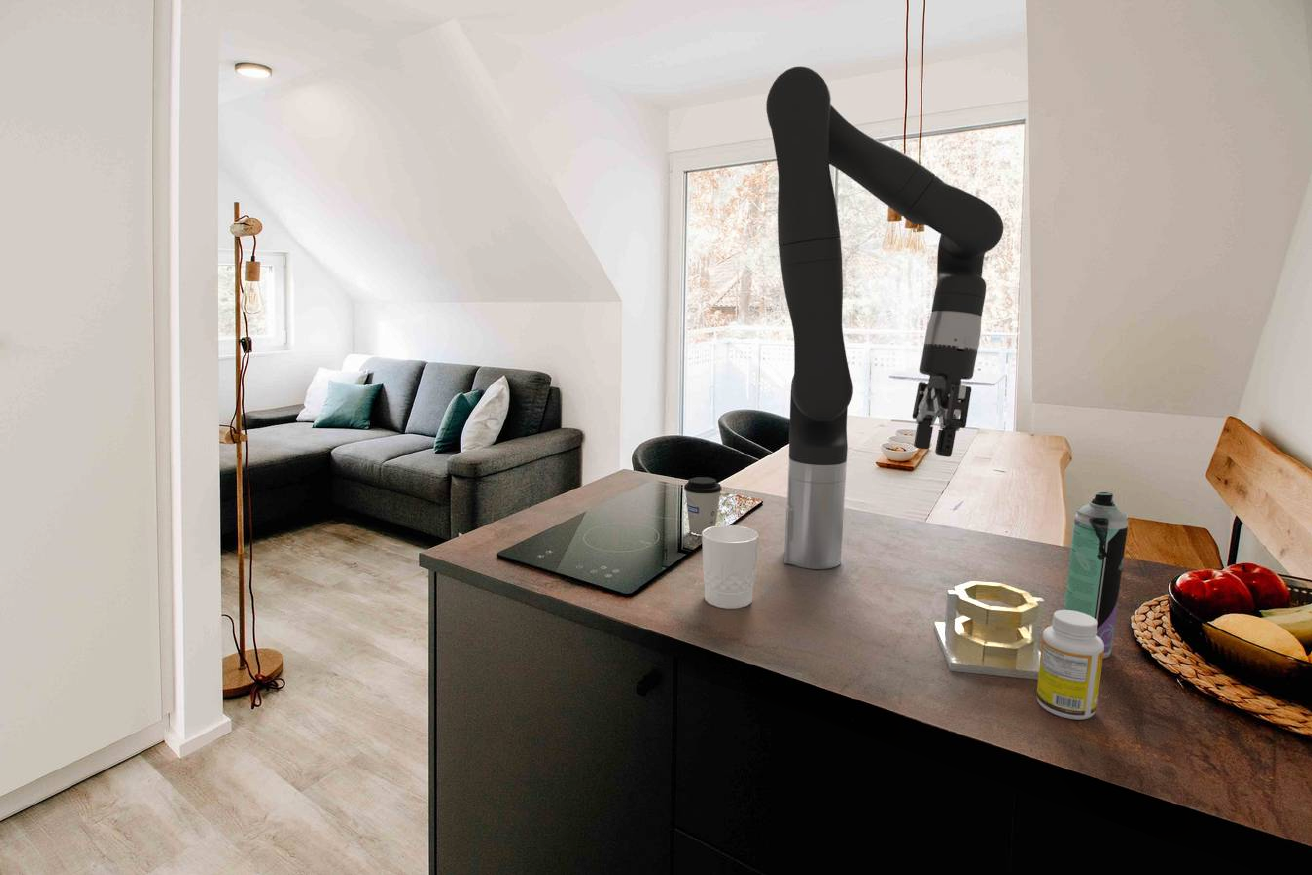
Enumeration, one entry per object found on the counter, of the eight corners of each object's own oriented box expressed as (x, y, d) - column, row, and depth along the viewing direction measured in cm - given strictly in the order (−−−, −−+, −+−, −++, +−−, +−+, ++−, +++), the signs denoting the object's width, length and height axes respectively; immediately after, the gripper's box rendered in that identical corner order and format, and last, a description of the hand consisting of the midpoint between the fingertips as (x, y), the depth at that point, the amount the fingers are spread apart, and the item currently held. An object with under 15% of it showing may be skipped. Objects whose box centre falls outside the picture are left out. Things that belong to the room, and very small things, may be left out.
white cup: (760, 592, 104) (762, 528, 103) (749, 614, 97) (751, 545, 95) (708, 585, 107) (710, 522, 105) (694, 606, 100) (695, 538, 98)
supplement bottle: (1068, 690, 78) (1079, 604, 77) (1108, 719, 73) (1121, 627, 71) (1023, 695, 78) (1033, 608, 76) (1060, 724, 72) (1072, 631, 70)
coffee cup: (715, 525, 136) (716, 475, 134) (725, 537, 129) (726, 484, 127) (679, 527, 134) (680, 476, 132) (687, 539, 128) (688, 485, 126)
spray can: (1118, 661, 85) (1140, 500, 81) (1068, 656, 86) (1088, 497, 82) (1099, 640, 90) (1120, 488, 87) (1053, 635, 91) (1071, 485, 88)
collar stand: (950, 670, 83) (955, 610, 81) (934, 628, 93) (938, 575, 92) (1053, 681, 80) (1060, 619, 79) (1024, 637, 91) (1030, 582, 90)
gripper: (908, 343, 113) (891, 443, 114) (945, 340, 99) (925, 454, 100) (955, 349, 113) (937, 450, 114) (998, 347, 99) (977, 461, 100)
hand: (931, 452), depth 107 cm, fingers open, 8 cm apart
